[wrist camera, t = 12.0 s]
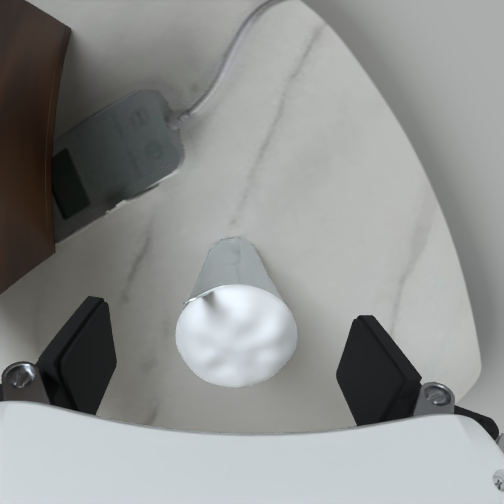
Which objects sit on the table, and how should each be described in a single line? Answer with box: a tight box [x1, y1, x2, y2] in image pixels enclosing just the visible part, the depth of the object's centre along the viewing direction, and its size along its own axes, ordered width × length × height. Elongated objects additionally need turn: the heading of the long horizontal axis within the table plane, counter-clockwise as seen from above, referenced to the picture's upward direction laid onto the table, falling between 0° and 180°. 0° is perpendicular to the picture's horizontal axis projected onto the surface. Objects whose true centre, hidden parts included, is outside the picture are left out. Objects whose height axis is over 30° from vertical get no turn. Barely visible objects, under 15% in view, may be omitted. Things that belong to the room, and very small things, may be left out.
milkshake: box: [176, 237, 298, 388], centre depth 13 cm, size 4×5×10 cm
